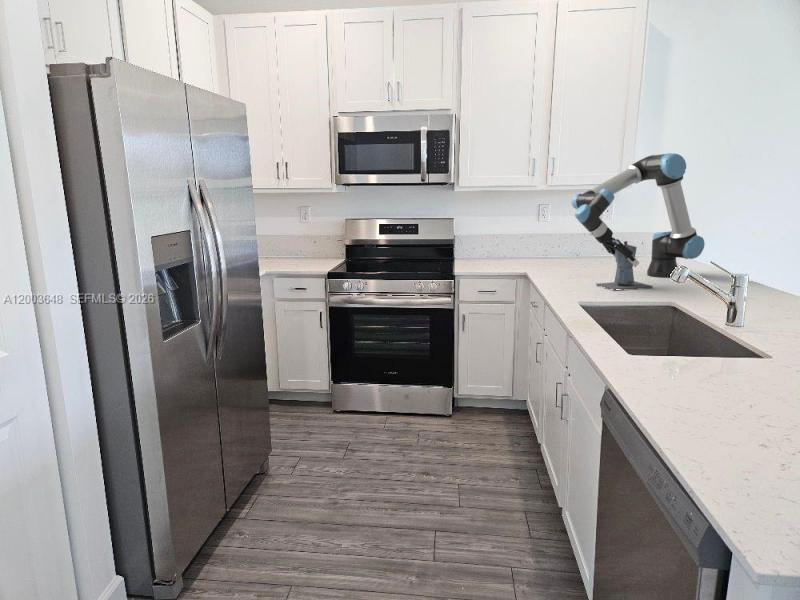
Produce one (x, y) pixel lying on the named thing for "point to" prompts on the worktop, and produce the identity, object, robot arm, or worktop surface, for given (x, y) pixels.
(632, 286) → the charcoal mat
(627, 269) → the moka pot
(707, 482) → the worktop surface
